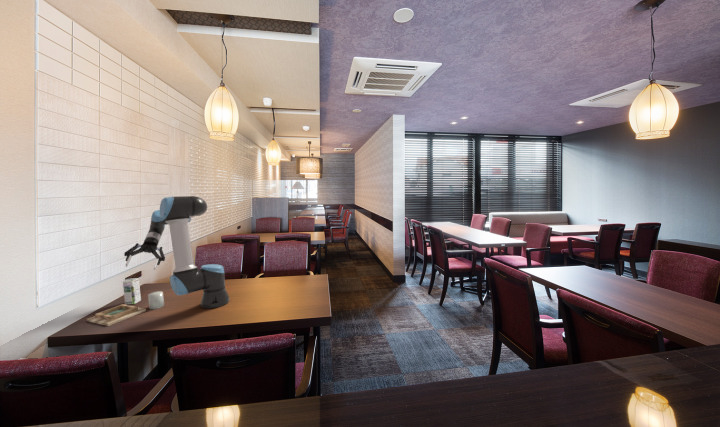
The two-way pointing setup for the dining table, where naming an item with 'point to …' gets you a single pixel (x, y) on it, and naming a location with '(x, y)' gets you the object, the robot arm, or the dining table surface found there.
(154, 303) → the white rounded cylinder
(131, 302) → the syrup box
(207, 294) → the robot arm
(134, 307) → the wooden square frame
